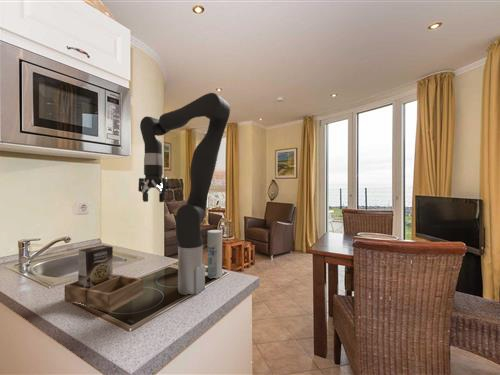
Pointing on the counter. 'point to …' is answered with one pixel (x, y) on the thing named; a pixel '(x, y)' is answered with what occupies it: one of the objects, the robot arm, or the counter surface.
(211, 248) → the spray can
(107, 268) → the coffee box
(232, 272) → the counter surface
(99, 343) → the counter surface
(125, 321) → the counter surface
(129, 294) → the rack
